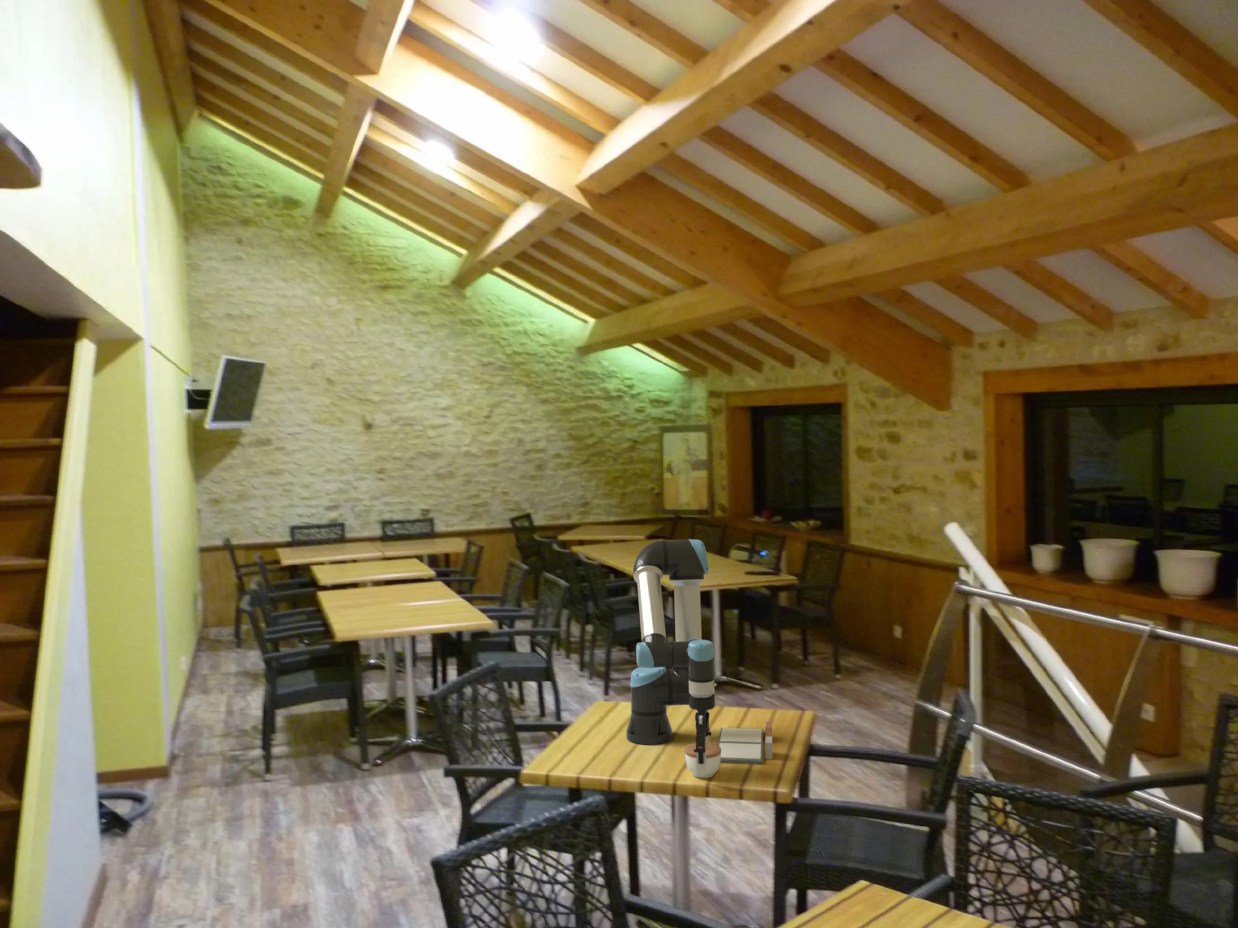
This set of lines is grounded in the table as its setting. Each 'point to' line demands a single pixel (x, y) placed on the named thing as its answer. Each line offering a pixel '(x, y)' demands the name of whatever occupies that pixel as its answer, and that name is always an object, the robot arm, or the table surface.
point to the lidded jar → (711, 759)
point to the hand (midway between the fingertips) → (703, 765)
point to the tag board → (745, 745)
